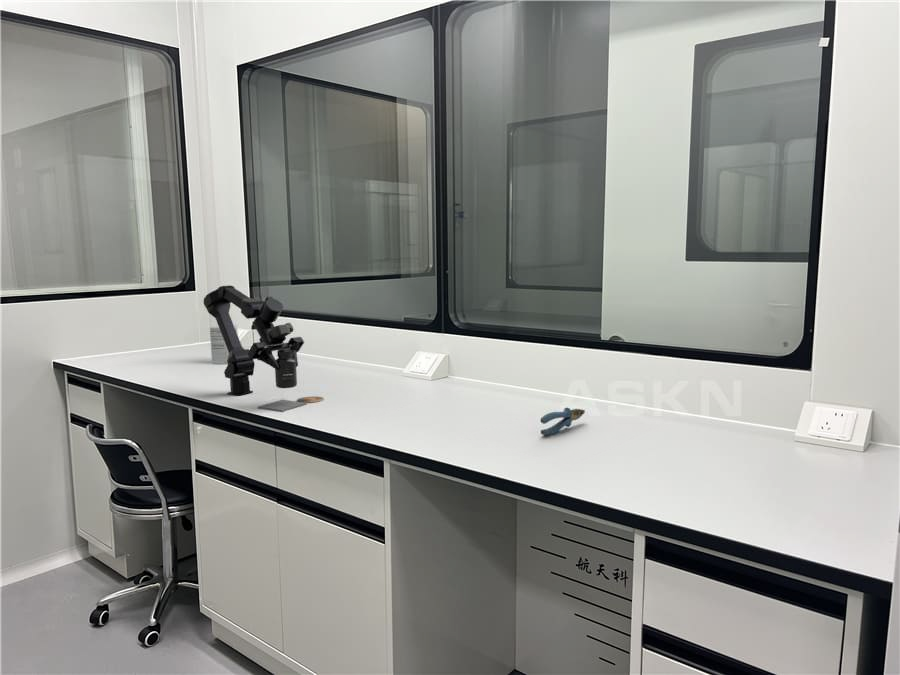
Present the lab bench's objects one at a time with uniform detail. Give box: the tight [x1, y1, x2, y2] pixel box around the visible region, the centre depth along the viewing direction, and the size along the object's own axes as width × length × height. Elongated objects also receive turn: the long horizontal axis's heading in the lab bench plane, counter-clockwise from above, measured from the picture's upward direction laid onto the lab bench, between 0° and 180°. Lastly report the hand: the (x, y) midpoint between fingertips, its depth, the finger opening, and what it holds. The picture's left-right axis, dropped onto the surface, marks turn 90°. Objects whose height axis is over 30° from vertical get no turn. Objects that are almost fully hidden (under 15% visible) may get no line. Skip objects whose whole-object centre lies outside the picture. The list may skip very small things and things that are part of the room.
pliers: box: [540, 407, 586, 436], centre depth 187 cm, size 20×2×6 cm, turn 135°
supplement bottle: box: [274, 349, 298, 389], centre depth 219 cm, size 7×7×12 cm
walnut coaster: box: [296, 395, 325, 404], centre depth 228 cm, size 9×9×1 cm
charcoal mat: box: [257, 399, 308, 413], centre depth 220 cm, size 11×11×1 cm
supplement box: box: [209, 324, 239, 365], centre depth 305 cm, size 10×9×17 cm
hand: (287, 367), depth 218 cm, fingers closed on supplement bottle, 7 cm apart
